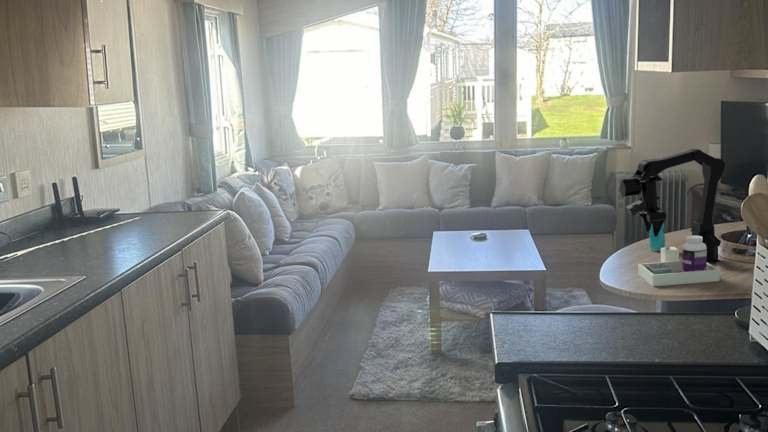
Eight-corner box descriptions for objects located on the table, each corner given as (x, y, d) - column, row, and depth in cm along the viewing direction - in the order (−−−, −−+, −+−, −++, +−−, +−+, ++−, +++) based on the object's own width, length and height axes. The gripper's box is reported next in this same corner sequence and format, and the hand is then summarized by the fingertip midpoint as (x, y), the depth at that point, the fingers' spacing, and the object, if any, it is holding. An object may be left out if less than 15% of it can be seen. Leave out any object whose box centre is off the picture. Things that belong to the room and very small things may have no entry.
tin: (665, 276, 274) (665, 263, 273) (672, 281, 268) (671, 267, 267) (646, 277, 274) (646, 264, 273) (653, 282, 268) (652, 269, 267)
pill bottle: (678, 274, 274) (677, 236, 272) (699, 272, 275) (699, 233, 272) (689, 280, 266) (688, 240, 264) (711, 278, 267) (710, 238, 264)
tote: (701, 269, 278) (701, 258, 277) (719, 281, 262) (719, 269, 262) (638, 274, 279) (638, 264, 278) (652, 286, 263) (652, 275, 262)
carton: (674, 264, 288) (673, 245, 286) (679, 267, 283) (678, 248, 281) (661, 265, 288) (660, 246, 286) (665, 269, 283) (665, 249, 282)
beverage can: (665, 251, 307) (665, 215, 305) (651, 252, 309) (650, 216, 306) (663, 248, 313) (662, 212, 310) (649, 248, 314) (648, 213, 311)
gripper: (620, 192, 292) (623, 231, 295) (635, 200, 274) (637, 242, 277) (649, 188, 291) (652, 228, 294) (666, 196, 273) (668, 238, 276)
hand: (651, 234), depth 285 cm, fingers open, 9 cm apart
